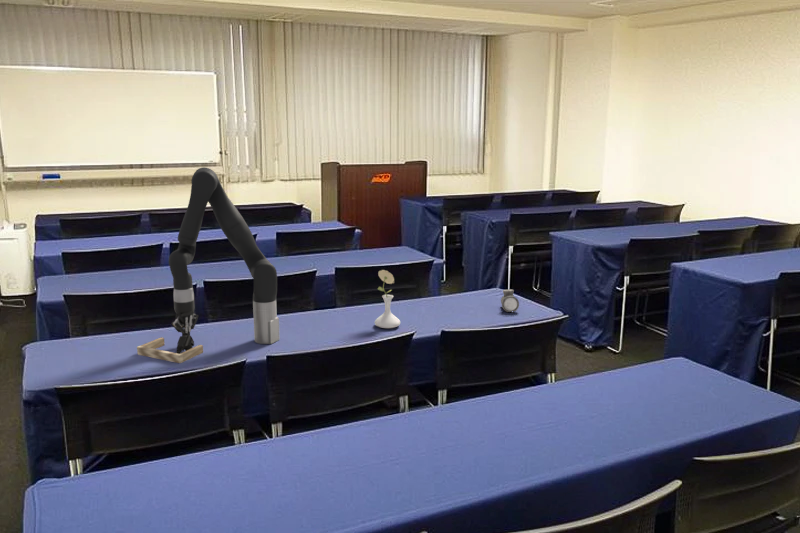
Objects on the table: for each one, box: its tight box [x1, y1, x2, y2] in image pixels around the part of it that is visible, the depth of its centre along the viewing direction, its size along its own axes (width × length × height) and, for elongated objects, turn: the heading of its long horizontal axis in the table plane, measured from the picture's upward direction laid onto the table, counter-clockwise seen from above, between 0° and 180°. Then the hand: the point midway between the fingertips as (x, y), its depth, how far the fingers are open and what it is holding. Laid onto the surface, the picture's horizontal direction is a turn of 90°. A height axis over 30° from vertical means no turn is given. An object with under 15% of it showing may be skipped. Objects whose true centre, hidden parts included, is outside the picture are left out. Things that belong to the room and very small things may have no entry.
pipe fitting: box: [500, 288, 520, 313], centre depth 309 cm, size 12×8×10 cm
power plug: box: [175, 334, 195, 354], centre depth 247 cm, size 6×8×12 cm
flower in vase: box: [374, 269, 401, 329], centre depth 280 cm, size 13×11×25 cm
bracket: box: [136, 337, 204, 364], centre depth 246 cm, size 21×12×3 cm, turn 66°
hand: (186, 341), depth 254 cm, fingers closed
